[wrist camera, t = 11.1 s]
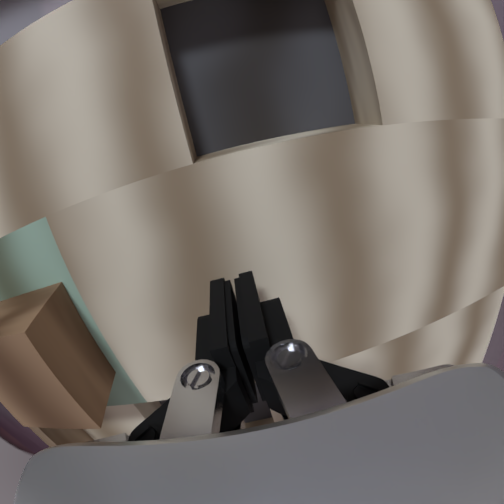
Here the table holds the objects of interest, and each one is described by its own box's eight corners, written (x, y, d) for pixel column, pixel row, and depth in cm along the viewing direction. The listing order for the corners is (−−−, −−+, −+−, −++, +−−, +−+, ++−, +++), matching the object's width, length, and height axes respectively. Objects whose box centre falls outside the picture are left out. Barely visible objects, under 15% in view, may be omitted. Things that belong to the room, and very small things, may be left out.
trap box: (457, -5, 10) (517, -21, 5) (464, 347, 23) (497, 386, 17) (-49, 116, 10) (-112, 128, 4) (120, 441, 22) (112, 494, 17)
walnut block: (61, 281, 12) (24, 332, 9) (115, 372, 15) (100, 428, 11) (-8, 303, 12) (-43, 345, 8) (43, 380, 15) (23, 426, 11)
